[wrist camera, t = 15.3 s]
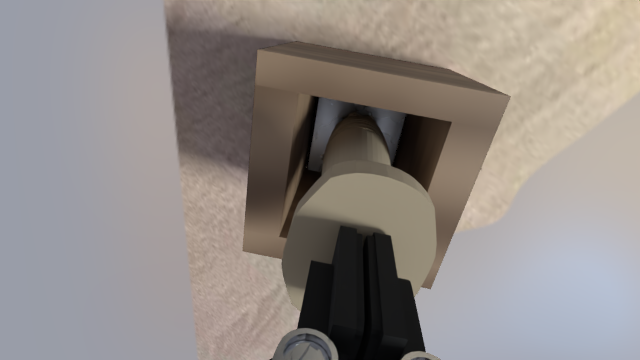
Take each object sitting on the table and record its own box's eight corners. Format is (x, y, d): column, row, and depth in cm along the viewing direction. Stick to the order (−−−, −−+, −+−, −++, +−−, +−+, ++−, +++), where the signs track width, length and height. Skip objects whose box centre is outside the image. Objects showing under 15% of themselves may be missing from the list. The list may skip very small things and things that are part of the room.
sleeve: (296, 41, 23) (257, 49, 14) (450, 69, 23) (510, 96, 14) (279, 179, 28) (242, 251, 19) (406, 203, 28) (430, 289, 19)
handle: (314, 161, 26) (268, 308, 12) (337, 80, 23) (309, 154, 9) (373, 177, 26) (391, 342, 12) (402, 99, 23) (467, 199, 10)
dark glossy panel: (324, 73, 24) (322, 75, 23) (410, 89, 24) (412, 91, 23) (309, 164, 27) (307, 169, 26) (385, 179, 27) (386, 184, 26)
